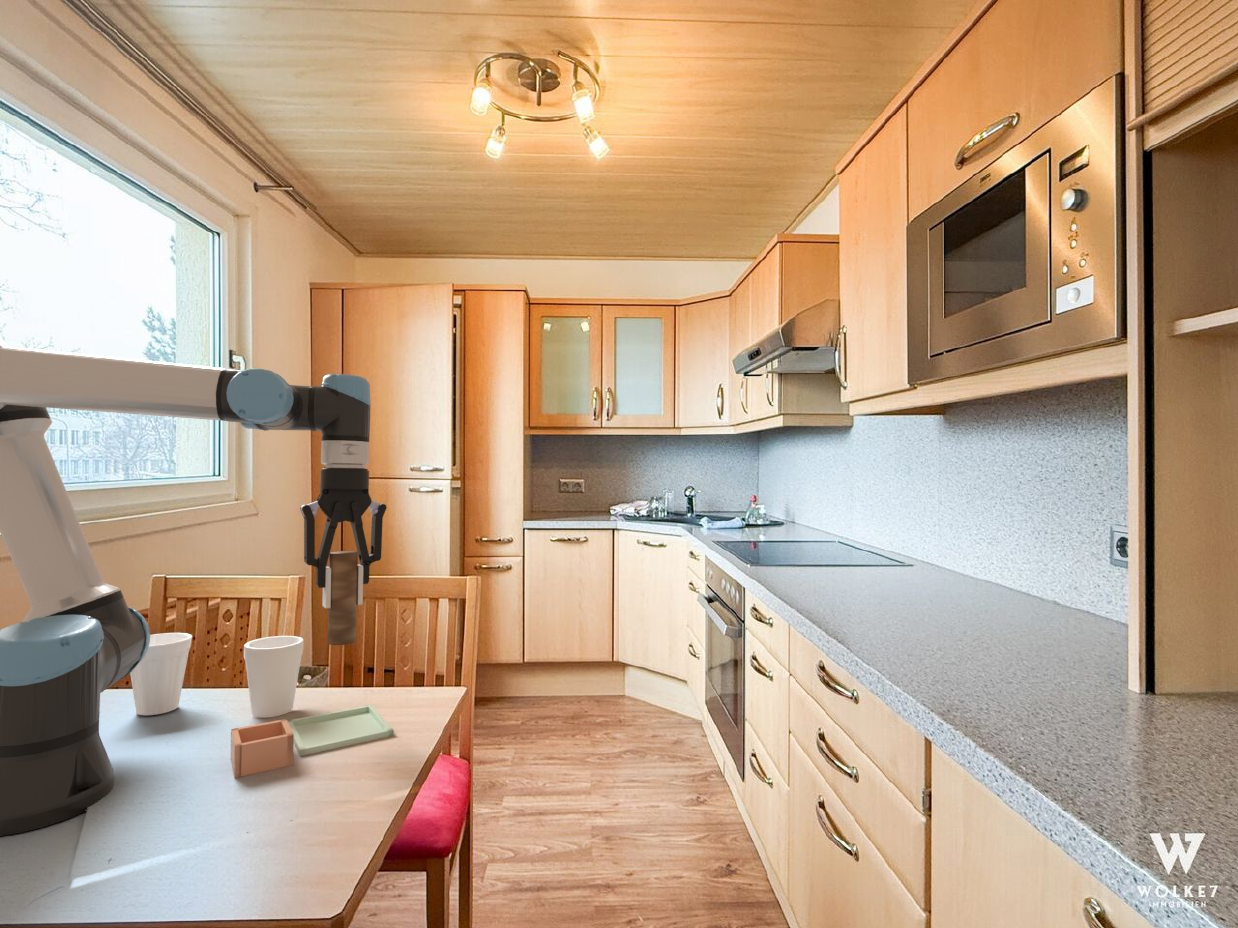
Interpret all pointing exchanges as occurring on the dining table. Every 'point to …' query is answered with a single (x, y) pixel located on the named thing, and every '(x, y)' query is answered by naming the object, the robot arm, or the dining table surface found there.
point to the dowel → (343, 598)
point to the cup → (161, 673)
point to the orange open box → (261, 748)
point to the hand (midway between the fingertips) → (342, 604)
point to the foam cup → (272, 674)
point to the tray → (338, 729)
